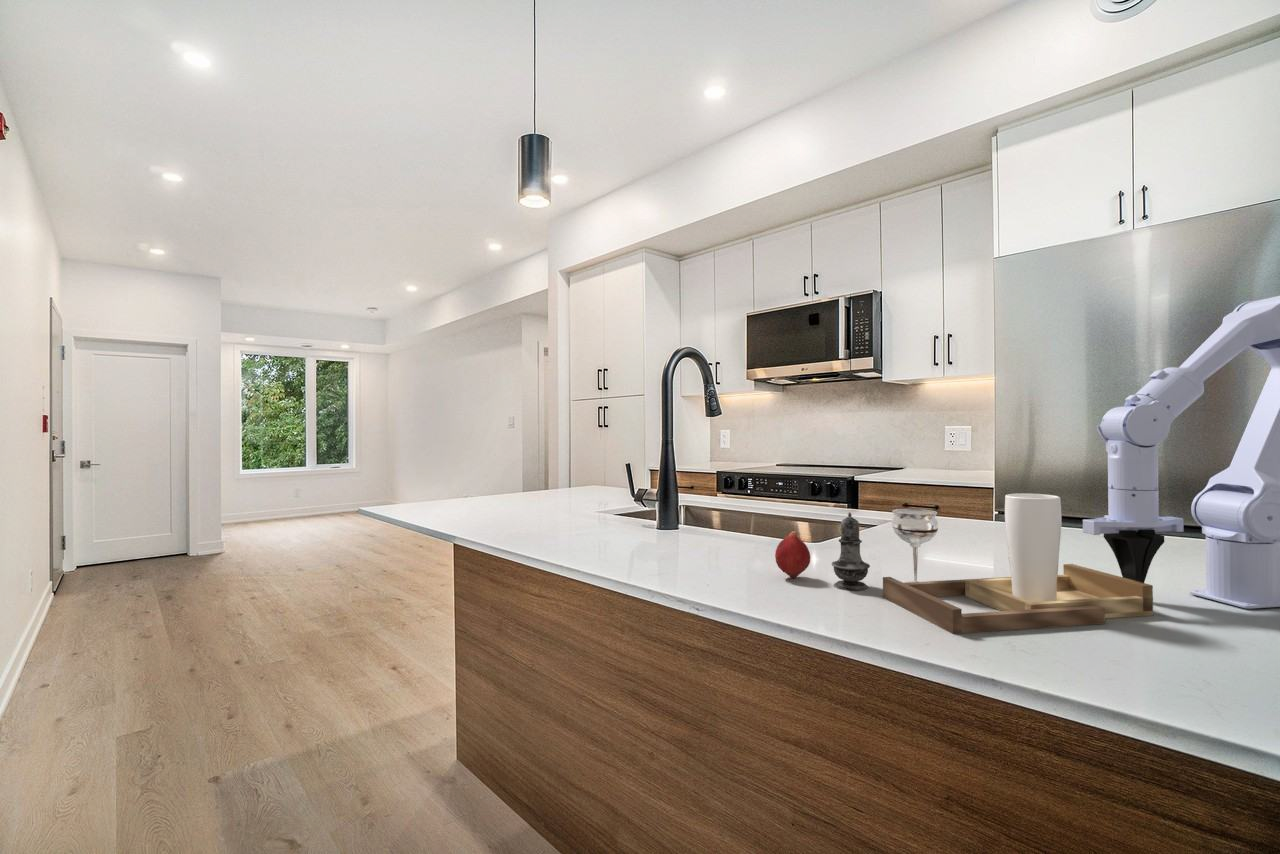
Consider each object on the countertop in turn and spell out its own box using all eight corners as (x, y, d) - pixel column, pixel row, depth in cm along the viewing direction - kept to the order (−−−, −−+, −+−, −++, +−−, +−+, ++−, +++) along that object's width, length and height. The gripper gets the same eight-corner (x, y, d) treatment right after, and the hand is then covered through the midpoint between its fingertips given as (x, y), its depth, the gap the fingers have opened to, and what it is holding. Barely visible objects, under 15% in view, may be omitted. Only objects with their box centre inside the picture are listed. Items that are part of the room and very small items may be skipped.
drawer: (1072, 589, 95) (1072, 563, 95) (1153, 615, 82) (1152, 585, 82) (965, 596, 93) (964, 569, 93) (1030, 623, 80) (1030, 592, 80)
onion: (776, 581, 103) (775, 534, 103) (774, 573, 109) (773, 528, 109) (812, 582, 102) (811, 534, 102) (808, 574, 108) (808, 528, 108)
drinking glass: (1072, 609, 83) (1070, 498, 83) (1017, 607, 85) (1015, 498, 85) (1049, 596, 90) (1047, 493, 90) (998, 594, 91) (996, 493, 91)
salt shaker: (871, 583, 101) (870, 510, 101) (868, 592, 96) (867, 515, 96) (834, 580, 103) (833, 509, 103) (829, 589, 98) (828, 513, 98)
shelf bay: (1011, 589, 96) (1010, 570, 96) (1104, 623, 80) (1104, 600, 80) (883, 597, 93) (882, 577, 93) (952, 633, 77) (952, 609, 77)
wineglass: (898, 579, 104) (897, 507, 104) (943, 584, 100) (941, 510, 100) (888, 588, 98) (886, 512, 98) (934, 594, 94) (933, 515, 94)
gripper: (1150, 484, 94) (1151, 573, 94) (1065, 487, 92) (1066, 577, 92) (1198, 489, 87) (1198, 585, 87) (1106, 492, 85) (1107, 590, 85)
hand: (1133, 582), depth 89 cm, fingers closed
